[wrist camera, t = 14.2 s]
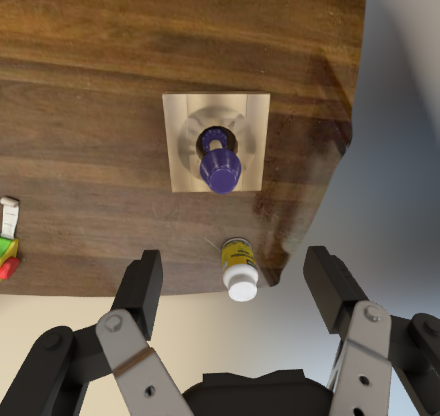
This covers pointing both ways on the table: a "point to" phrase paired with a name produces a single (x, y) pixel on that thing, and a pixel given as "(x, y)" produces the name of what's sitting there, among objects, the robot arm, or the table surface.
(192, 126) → the socket base
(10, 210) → the toy measuring tape
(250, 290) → the pill bottle
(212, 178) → the toy lamp
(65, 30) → the table surface
